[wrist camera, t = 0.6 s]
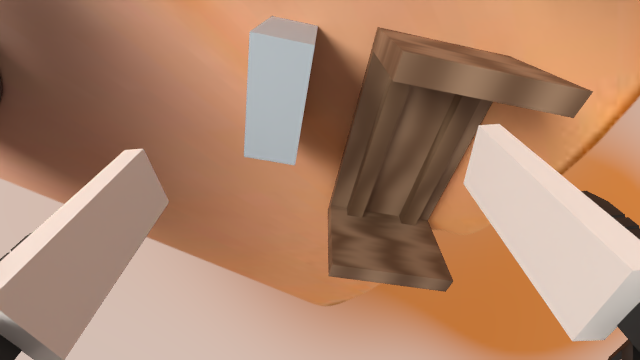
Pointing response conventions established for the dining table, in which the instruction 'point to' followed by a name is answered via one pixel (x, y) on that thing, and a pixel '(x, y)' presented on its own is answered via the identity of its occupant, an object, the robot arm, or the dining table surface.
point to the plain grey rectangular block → (277, 88)
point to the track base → (419, 150)
